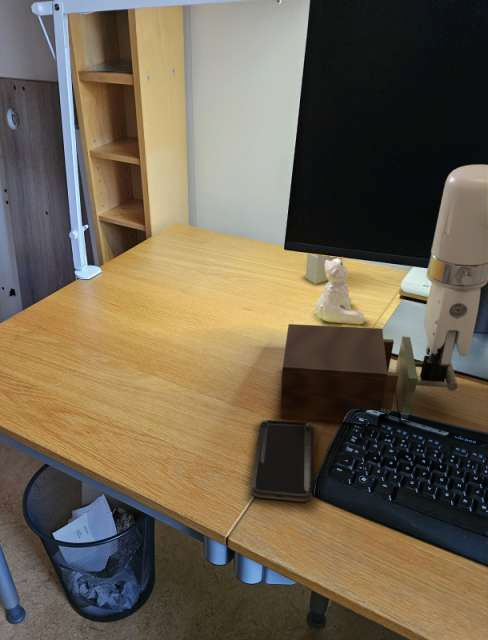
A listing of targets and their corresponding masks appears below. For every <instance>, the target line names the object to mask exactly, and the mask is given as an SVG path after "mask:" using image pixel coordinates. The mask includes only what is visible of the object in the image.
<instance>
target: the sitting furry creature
mask: <svg viewBox="0 0 488 640" xmlns="http://www.w3.org/2000/svg"><path fill="white" fill-rule="evenodd" d="M324 267H325V272H326V277H327V278H328V280H327V283H326V284H325V286H324V287H323V289H324V290H323V291H322V292H321V293H322V294H321V295H320V297H319V298H318V300H317V301H316V303H315V305H314V307H315V308H314V311H315V314H316V315H317V317H318V318H319V319H322V320H323V321H325V322H327V323H337V324H347V325H363V324H364V322H365V313H363V312H361V311H359V310H358V309H352V308H351V303H352V298H351V297H350V296H349V294H350V291H349V289H348V283H347V281H346V280H347V279H349V274H348V270H347V269H348V267H347V265H345V264H344V262H343V259H342V260H341V259H339V258H337V259H333V260H332V261H329V260H326V261H325V265H324Z"/></svg>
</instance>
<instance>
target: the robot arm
mask: <svg viewBox="0 0 488 640" xmlns="http://www.w3.org/2000/svg"><path fill="white" fill-rule="evenodd" d="M438 211H439V212H438V217H437V221H436V226H435V232H434V234H433V235H434V236H433V241H432V245H431V250H430V256H429V260H428V265H427V270H426V278H427V280H428V281H429V282H431V284H430V288H429V291H428V296H427V300H426V305H425V310H424V317H423V327H424V331H425V336H426V340H427V342H426V348H425V355H424V356H423V361H422V362H423V365H422V367H421V369H420V374H419V378H420V380H423V381H438V382H446V381H445V377H446V373H447V369H448V367H450V365H451V363H452V360H453V359H452V358H453V354H454V350H455V346H456V348H457V352H458V354H459V356H462V357H466V356H467V355H468V354H469V353H470V349H471V344H472V340H473V336H474V333H475V327H476V322H477V317H478V314H479V313H478V312H479V306H480V299H481V290H482V288H483V287H484V286H486V285H487V284H488V164H469V165H468V164H467V165H462V166H460V167H457V168H456V169H453V170H452V171H451V172H450V173H449V174H448V176H447V178H446V180H445V182H444V186H443V191H442V197H441V203H440V206H439V210H438Z"/></svg>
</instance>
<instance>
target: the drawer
mask: <svg viewBox="0 0 488 640" xmlns="http://www.w3.org/2000/svg"><path fill="white" fill-rule="evenodd" d="M383 339H384V347H385V356H386V365H387V373H388V374H387V380H386V385H385V390H384V396H383V401H382V407H381V408H382V409H386V410H390V411H391V412H392V410H393V406H394V402H395V396H396V401H397V409H398V413H399V412H400V413H403V414H408V415H410V416H411V411H412V406H413V402H414V398H415V394H416V389H417V386H419V387H421V386H422V387H434V388H447V390H448V391H450V392H454V391H456V390H457V389H458V387H459V386H458V385H459V384H458V382H457V378H456V375H455V371H454V368H453V364H452V362H451V365H450V367H448V369H447V373H446V377H445V381H444V382H438V381H423V380H421V379H419V376H418V372H417V368H422V365H423V361H415V356H414V355H415V354H414V351H413V344H412V340H411V336H402V337H401V341H400V345H399V351H398V356H397V360H396V361H397V362H396V367H395V371H394V372H392V371H389V370H390V365H391V359H392V355H393V354H392V353H393V349H394V343H395V341H394V338H393V339H391V338H383Z"/></svg>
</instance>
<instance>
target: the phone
mask: <svg viewBox="0 0 488 640" xmlns="http://www.w3.org/2000/svg"><path fill="white" fill-rule="evenodd" d="M256 445H257V447H256V454H255V461H254V467H253V474H252V481H251V493H252V495H253V496H254V497H256V498H258V499H266V500H275V501H286V502H297V503H306V502H309V501H310V500H311V499H312V490H313V455H314V454H313V453H314V452H313V450H314V449H313V448H314V427H313V425H312V424H311V423H309V422H301V421H286V420H273V419H266V420H263V421H261V422H260V424H259V431H258V437H257V442H256Z"/></svg>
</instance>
